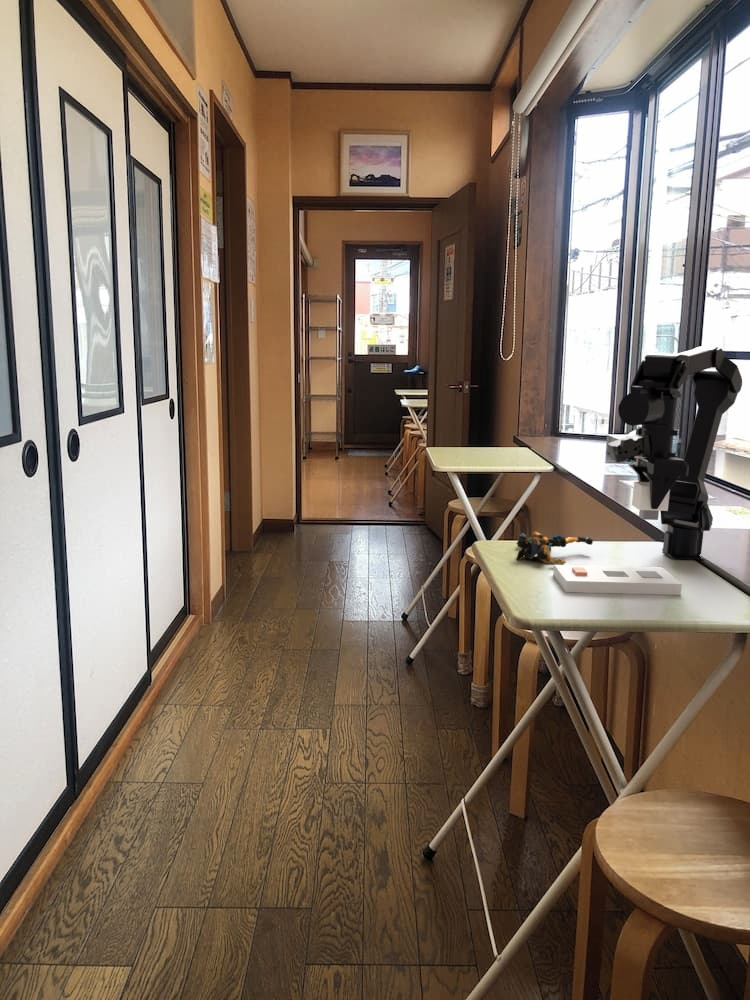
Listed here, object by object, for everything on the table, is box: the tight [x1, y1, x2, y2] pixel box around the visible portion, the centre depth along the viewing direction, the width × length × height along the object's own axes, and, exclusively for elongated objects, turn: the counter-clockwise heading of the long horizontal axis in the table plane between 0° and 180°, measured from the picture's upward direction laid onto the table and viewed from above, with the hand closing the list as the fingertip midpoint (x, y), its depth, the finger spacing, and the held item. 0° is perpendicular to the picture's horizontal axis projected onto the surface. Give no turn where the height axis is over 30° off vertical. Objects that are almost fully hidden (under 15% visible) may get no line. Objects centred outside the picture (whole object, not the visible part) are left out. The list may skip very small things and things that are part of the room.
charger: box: [631, 481, 670, 521], centre depth 152 cm, size 5×5×6 cm
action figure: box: [516, 531, 594, 565], centre depth 162 cm, size 6×15×15 cm
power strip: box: [552, 564, 682, 596], centre depth 146 cm, size 20×10×3 cm, turn 90°
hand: (649, 506), depth 152 cm, fingers closed on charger, 5 cm apart
